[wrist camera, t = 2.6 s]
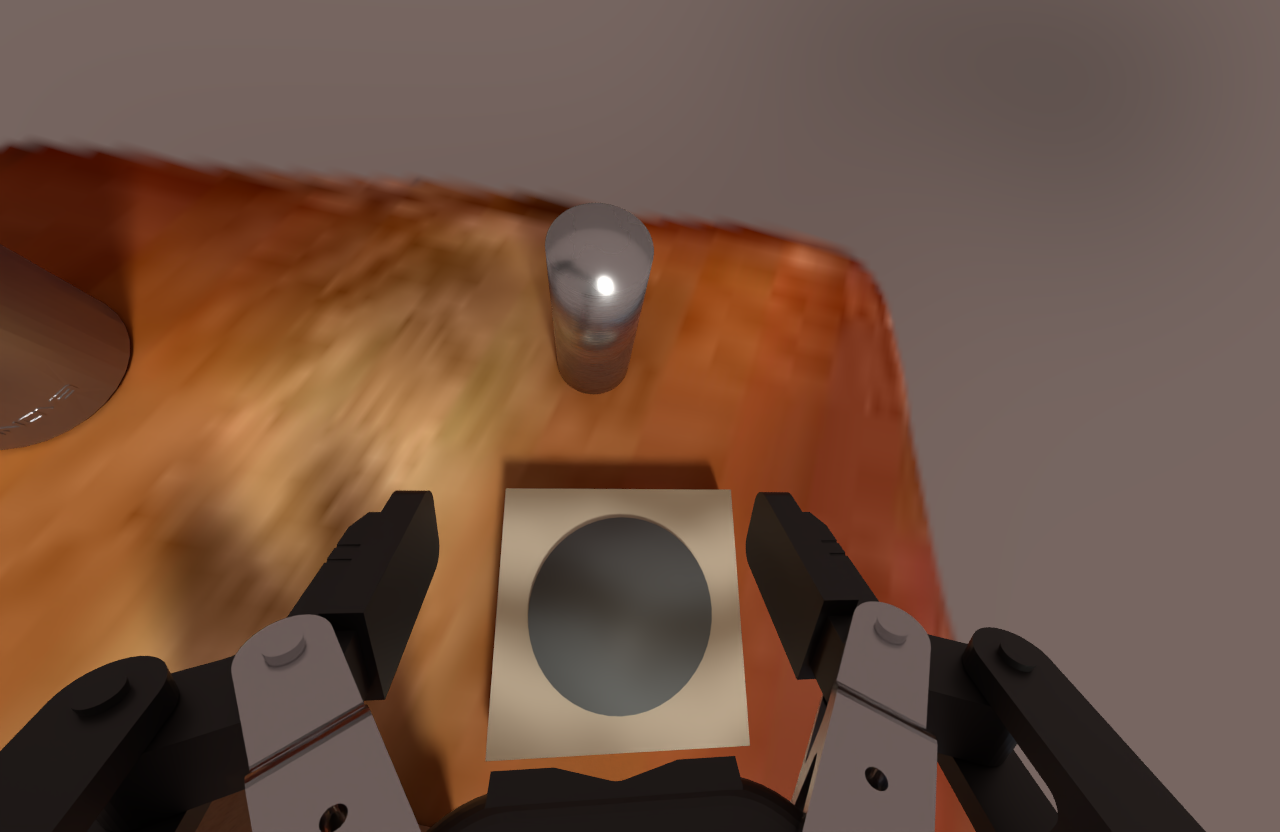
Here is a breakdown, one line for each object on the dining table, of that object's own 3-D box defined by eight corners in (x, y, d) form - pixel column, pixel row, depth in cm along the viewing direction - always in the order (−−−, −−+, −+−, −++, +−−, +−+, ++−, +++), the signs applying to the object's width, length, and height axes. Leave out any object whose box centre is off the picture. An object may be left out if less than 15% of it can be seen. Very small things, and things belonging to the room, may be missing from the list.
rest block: (511, 494, 26) (505, 487, 24) (720, 495, 28) (731, 489, 26) (493, 745, 23) (484, 762, 21) (736, 732, 24) (751, 746, 22)
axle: (542, 355, 29) (522, 236, 19) (598, 317, 31) (607, 186, 20) (587, 407, 29) (592, 313, 18) (642, 366, 30) (675, 257, 20)
